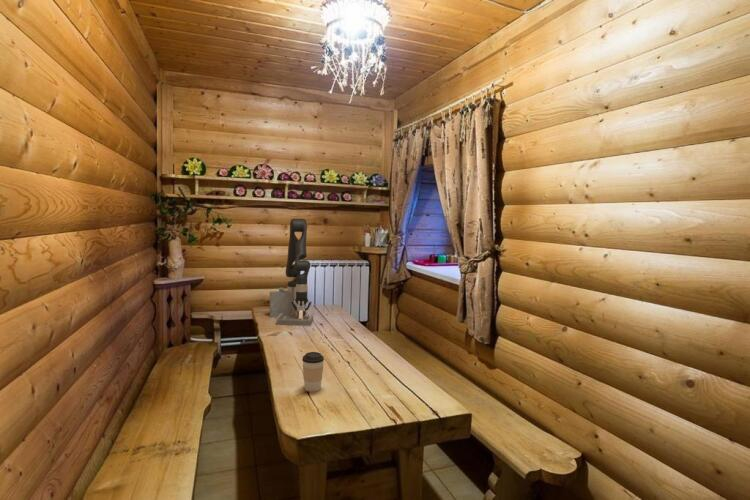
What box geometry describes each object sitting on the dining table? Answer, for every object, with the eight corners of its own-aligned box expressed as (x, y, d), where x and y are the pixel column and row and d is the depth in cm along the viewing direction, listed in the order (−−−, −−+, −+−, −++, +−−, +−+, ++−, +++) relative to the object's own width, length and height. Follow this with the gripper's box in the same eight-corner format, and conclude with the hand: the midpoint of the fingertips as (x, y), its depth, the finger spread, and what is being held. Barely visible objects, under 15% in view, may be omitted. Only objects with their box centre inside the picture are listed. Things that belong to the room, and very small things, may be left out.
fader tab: (300, 316, 277) (300, 309, 276) (303, 316, 277) (303, 309, 276) (298, 318, 272) (298, 311, 271) (302, 318, 272) (302, 311, 271)
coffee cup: (313, 381, 181) (314, 348, 180) (327, 387, 176) (328, 353, 174) (297, 388, 174) (297, 353, 173) (311, 394, 169) (312, 359, 167)
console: (280, 319, 281) (280, 313, 280) (313, 320, 281) (313, 314, 280) (276, 324, 269) (276, 317, 268) (310, 325, 269) (310, 319, 268)
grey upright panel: (269, 317, 286) (270, 288, 284) (269, 316, 290) (269, 287, 288) (293, 316, 291) (293, 288, 290) (292, 314, 295) (292, 287, 293)
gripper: (313, 289, 276) (312, 315, 278) (292, 289, 276) (292, 314, 278) (311, 292, 269) (310, 318, 271) (290, 291, 269) (289, 317, 271)
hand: (301, 316), depth 274 cm, fingers closed on fader tab, 2 cm apart
